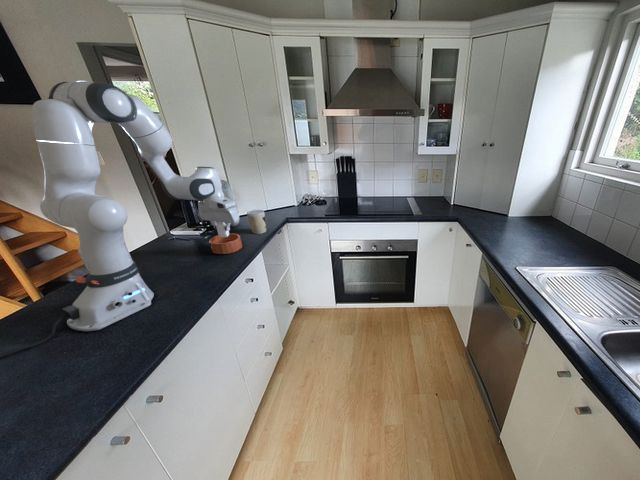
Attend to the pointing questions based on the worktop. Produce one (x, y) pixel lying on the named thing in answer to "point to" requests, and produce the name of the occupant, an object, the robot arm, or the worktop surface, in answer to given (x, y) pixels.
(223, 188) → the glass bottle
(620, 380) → the worktop surface
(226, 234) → the pepper shaker
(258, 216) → the coffee cup
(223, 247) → the bowl
